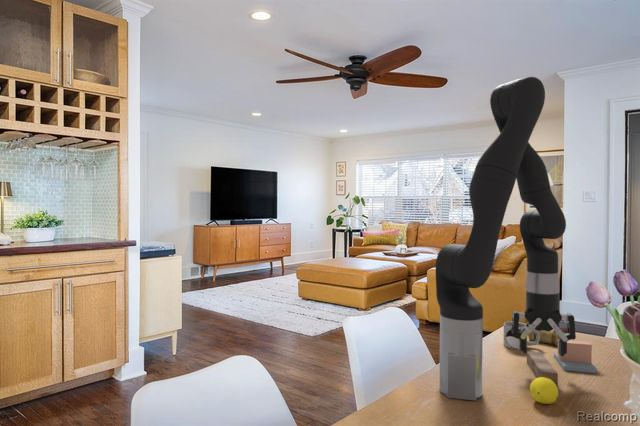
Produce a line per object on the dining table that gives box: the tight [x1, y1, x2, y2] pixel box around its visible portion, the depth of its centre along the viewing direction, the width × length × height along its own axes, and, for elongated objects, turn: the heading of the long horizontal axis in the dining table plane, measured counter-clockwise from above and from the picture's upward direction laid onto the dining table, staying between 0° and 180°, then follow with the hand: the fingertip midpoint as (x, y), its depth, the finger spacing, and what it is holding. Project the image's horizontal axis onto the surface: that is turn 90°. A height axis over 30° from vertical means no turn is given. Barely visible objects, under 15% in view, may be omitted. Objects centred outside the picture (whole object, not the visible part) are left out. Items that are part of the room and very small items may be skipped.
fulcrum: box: [553, 340, 598, 374], centre depth 120 cm, size 11×8×6 cm
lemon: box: [529, 377, 559, 405], centre depth 96 cm, size 7×5×5 cm
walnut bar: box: [526, 351, 559, 388], centre depth 113 cm, size 16×4×4 cm, turn 166°
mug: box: [503, 321, 540, 351], centre depth 135 cm, size 10×7×7 cm
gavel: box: [527, 327, 568, 347], centre depth 145 cm, size 21×5×10 cm
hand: (542, 354), depth 113 cm, fingers open, 8 cm apart
